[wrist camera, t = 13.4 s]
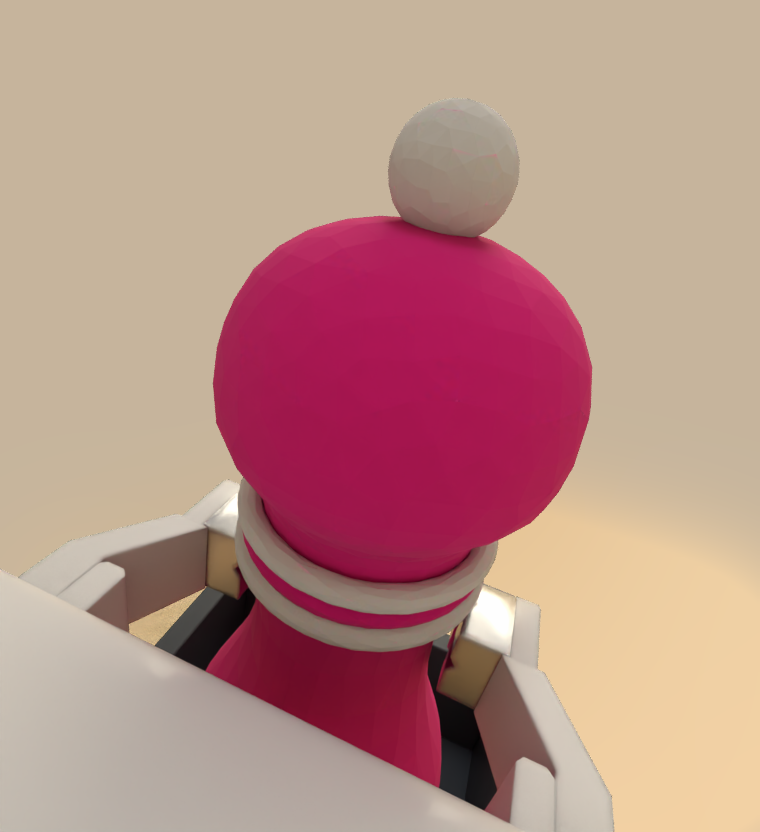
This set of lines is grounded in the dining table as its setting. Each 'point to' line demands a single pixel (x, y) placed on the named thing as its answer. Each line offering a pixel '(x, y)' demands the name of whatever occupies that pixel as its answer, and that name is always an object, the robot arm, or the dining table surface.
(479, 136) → the pepper mill
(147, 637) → the dining table surface
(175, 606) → the dining table surface
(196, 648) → the bin
